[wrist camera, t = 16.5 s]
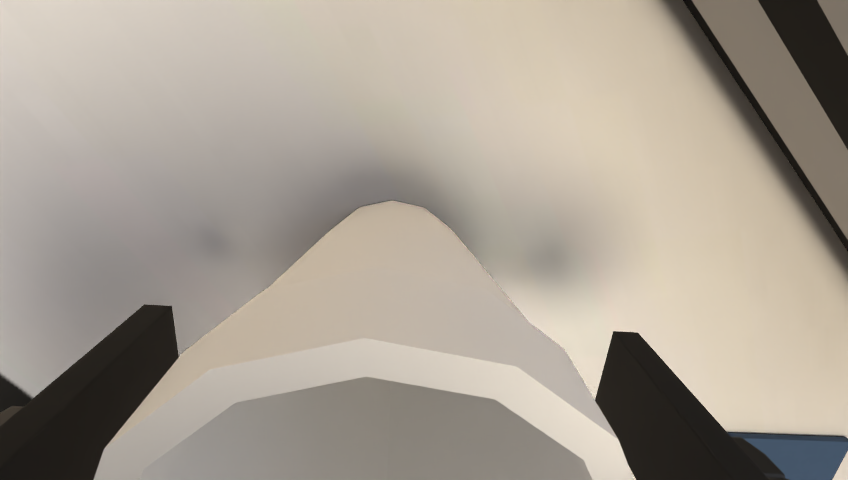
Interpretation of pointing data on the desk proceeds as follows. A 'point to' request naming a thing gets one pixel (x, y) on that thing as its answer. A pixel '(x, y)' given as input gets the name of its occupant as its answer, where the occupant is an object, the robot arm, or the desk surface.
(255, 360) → the foam cup
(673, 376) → the robot arm
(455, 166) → the desk surface
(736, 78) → the game console
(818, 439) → the blue mat
